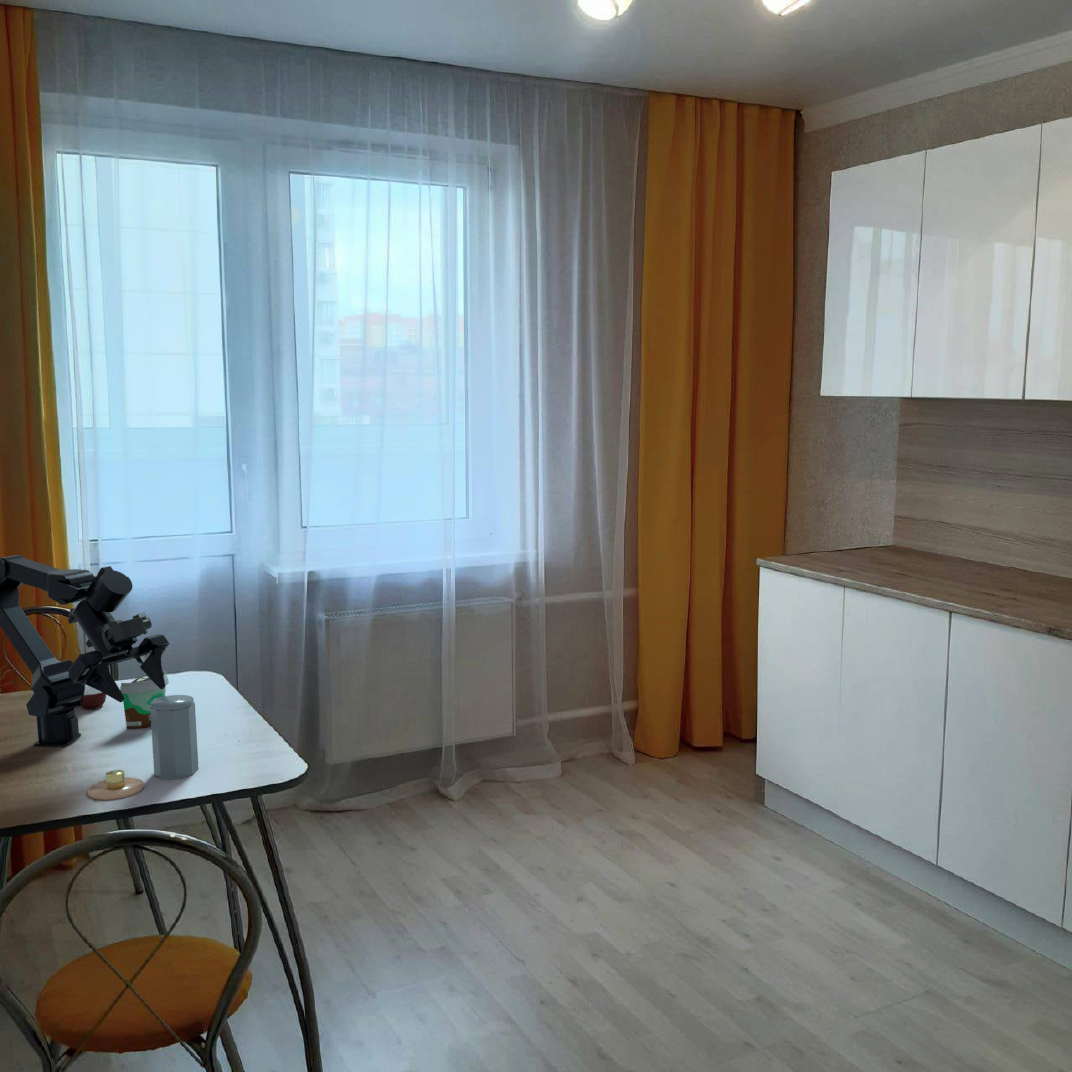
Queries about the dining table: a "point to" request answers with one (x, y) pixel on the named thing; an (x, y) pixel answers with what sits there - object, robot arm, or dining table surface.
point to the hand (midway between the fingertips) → (143, 694)
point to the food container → (140, 701)
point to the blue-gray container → (174, 736)
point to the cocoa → (92, 698)
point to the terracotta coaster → (103, 793)
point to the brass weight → (115, 780)
